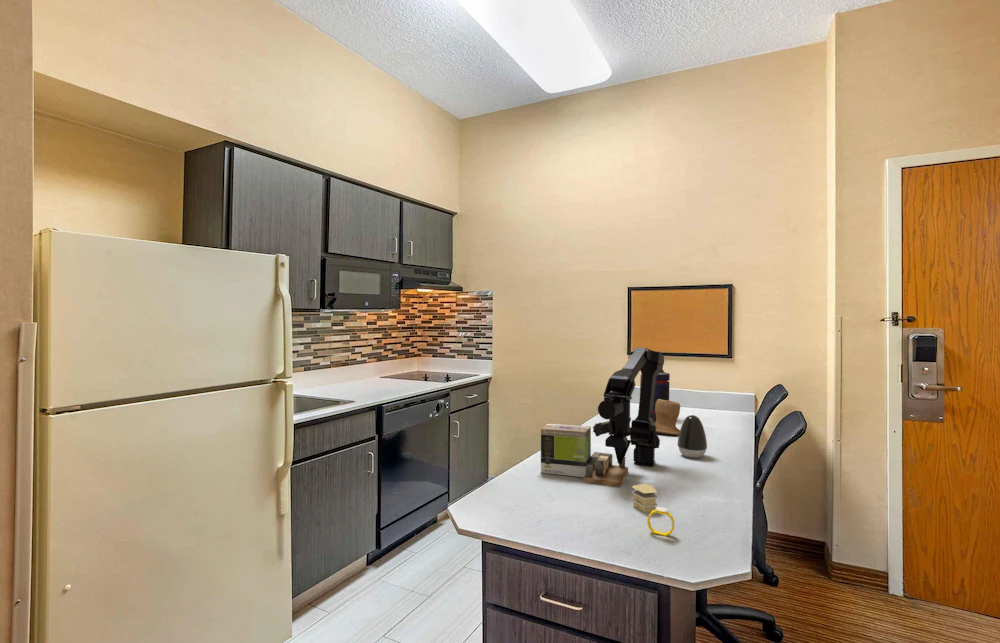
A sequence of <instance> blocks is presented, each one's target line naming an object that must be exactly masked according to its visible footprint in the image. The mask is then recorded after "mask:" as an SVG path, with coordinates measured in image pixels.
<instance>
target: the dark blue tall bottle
mask: <svg viewBox="0 0 1000 643" xmlns="http://www.w3.org/2000/svg"><path fill="white" fill-rule="evenodd" d="M663 368H664V364H663V365H662V370H661V372H660V373H659V374H658V375H657V377H656V384H655V393H654V403H653V413H652V419H653V421H654V423H655V422H656V412H655V404H656V401H657V400H658V399H661V400H667V401H670V373H669V372H666V371H665V370H664V369H663ZM641 382H642V373H641V374H640V384H639V385H640V386H639V393H640V392H641Z"/></svg>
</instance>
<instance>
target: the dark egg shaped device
mask: <svg viewBox="0 0 1000 643" xmlns="http://www.w3.org/2000/svg"><path fill="white" fill-rule="evenodd" d="M679 430H680V433H679V434H678V437H677V447H678V450H679V453H681V454H682V456H683V457H686V458H690V459H699V458H701V457H703V456H704V455H705V454H706V452H707V451H706V450H707V449H708V442H707V436H706V435H707V434H706V432H705V428H704V425H703V422H702V421H701V420H700V418H699V417H698V416H696V415H694V414H692V415H691V414H690V415H688V416H686V418H684V420H683V421H682V425H681V427H680V429H679Z"/></svg>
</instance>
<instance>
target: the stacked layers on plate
mask: <svg viewBox="0 0 1000 643" xmlns="http://www.w3.org/2000/svg"><path fill="white" fill-rule="evenodd" d="M631 487H632V488H633V490H632V491H631V494H633V497H632V498H631V501H633V502H632V503H633V504H632V505H633V507H634V508H635V509H638V510H640V511H641V512H642V513H651V512H652V511H653V510H655V509H656V507H658V504H657V503H656V499H658V496H657V495H656V493H658V491H657V490H656V488H654V486H653V485H652V484H647V483H640V484H635V485H632V486H631Z"/></svg>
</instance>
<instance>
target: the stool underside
mask: <svg viewBox="0 0 1000 643" xmlns="http://www.w3.org/2000/svg"><path fill="white" fill-rule="evenodd" d="M628 473H629V466H626V456H625V457H624V459H623V462H622V464H618V465H616V464H612V467H608V468H607V470H606V472H605V474H604V475H603V476H597V475H596V474H595V470H594V469H593V465H590V464H588V465H586V475H585V476H584V477H583V483H587V484H593V485H594V484H595V485H601V486H608V487H613V488H621V487H622V484H623V482H624V480H625V478H626V477H627V474H628Z"/></svg>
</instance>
